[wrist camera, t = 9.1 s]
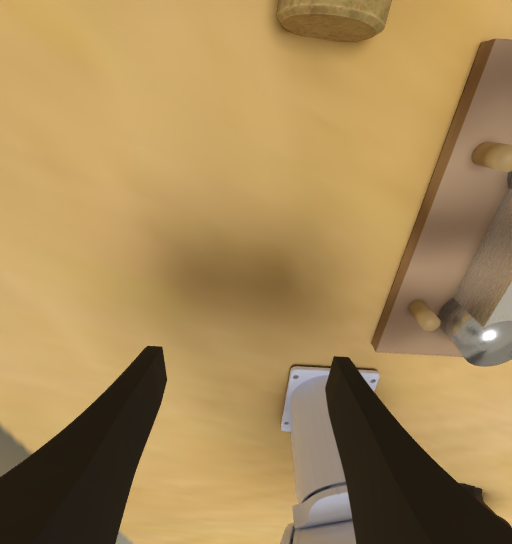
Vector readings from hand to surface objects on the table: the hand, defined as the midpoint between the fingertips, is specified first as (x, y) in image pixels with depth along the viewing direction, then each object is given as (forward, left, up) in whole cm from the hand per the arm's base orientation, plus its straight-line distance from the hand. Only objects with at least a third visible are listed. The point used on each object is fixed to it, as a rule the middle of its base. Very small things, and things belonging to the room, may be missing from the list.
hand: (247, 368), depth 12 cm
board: (+3, -16, -9) cm, 19 cm away
